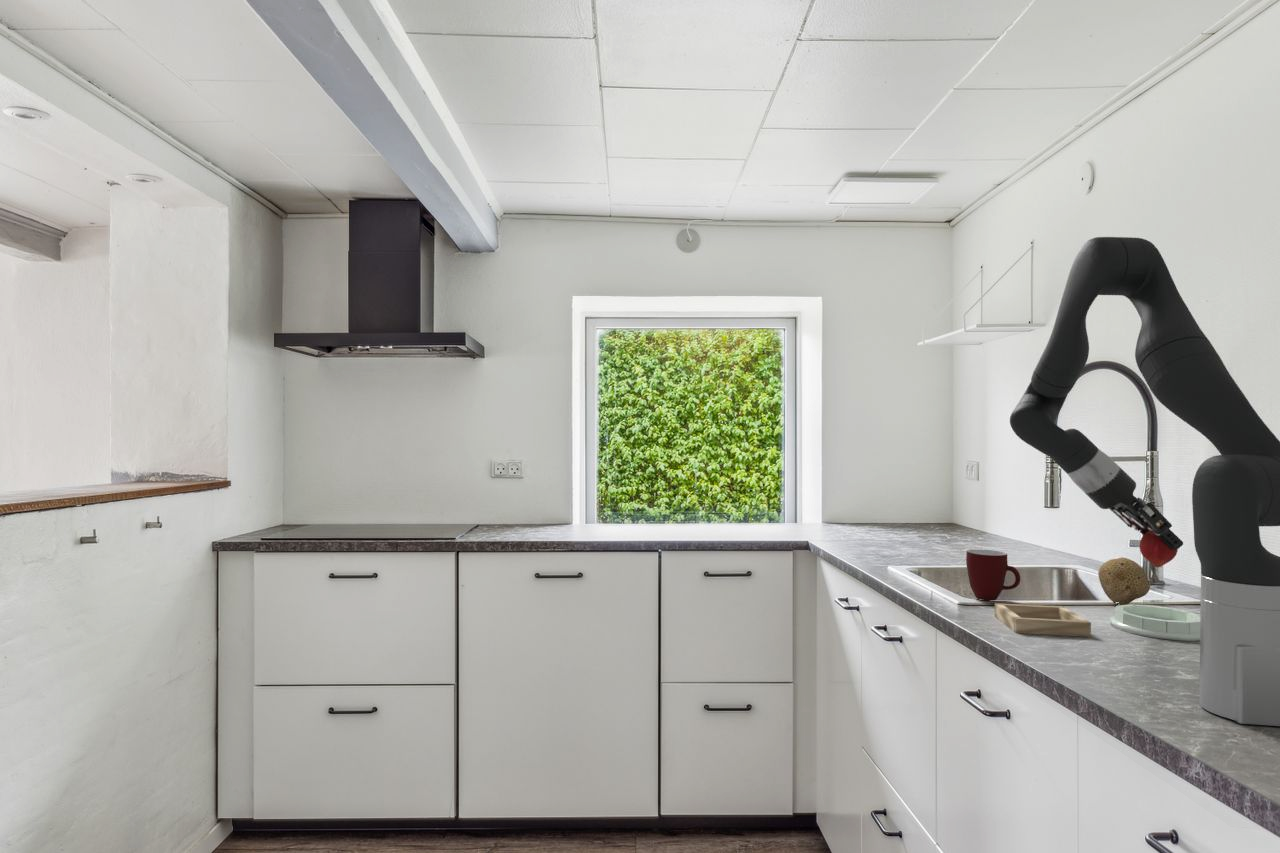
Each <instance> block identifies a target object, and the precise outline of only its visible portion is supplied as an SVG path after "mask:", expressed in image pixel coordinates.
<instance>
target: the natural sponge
mask: <svg viewBox="0 0 1280 853" xmlns="http://www.w3.org/2000/svg"><path fill="white" fill-rule="evenodd" d="M1097 574H1098V579H1099V583H1100V586H1101V588H1102V590H1103V592H1104V594H1105V595H1106V596H1107V597H1108V599H1109V600H1110V601H1111V602H1113V603H1114V602H1119V603H1117V604H1120V605H1128V604H1131V603H1132V602H1133V601H1135V600H1138V599H1141V598H1142V597H1144V596H1146V595H1147V594H1148V593H1149V591H1150V590H1151V583H1150V579H1149V577H1148V576H1147V574H1146V572H1145V570H1144V569H1143V567H1142V566H1141V565H1140V564H1138V562H1135V561H1134V560H1132V559H1130V558H1126V557H1118V558H1111V559H1108V560H1106V561H1105V562H1104V563H1103V564H1102V565H1101V566H1100V567H1099V568H1098V572H1097ZM1117 604H1116V605H1117Z"/></svg>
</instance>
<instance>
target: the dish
mask: <svg viewBox="0 0 1280 853" xmlns="http://www.w3.org/2000/svg"><path fill="white" fill-rule="evenodd" d="M1113 613H1114V614H1113V615H1111V616H1110V618H1109V624H1110V626H1111V627H1113V628H1115V629H1117V630H1119V629H1120V631H1122V632H1126V633H1129V634H1133V635H1138V636H1143V637H1148V638H1154V639H1159V640H1160V639H1162V640H1169V641H1181V642H1182V641H1185V642H1186V641H1187V642H1191V641H1192V642H1194V641H1195V642H1196V641H1200V615H1199V614H1196V613H1194V612H1192V611H1187V610H1182V609H1178V608H1175V607H1174V608H1173V607H1165V606H1159V605H1153V604H1151V605H1150V604H1134V603H1133V604H1131V603H1129V604H1127V605H1116V606H1115V607H1114V609H1113Z"/></svg>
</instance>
